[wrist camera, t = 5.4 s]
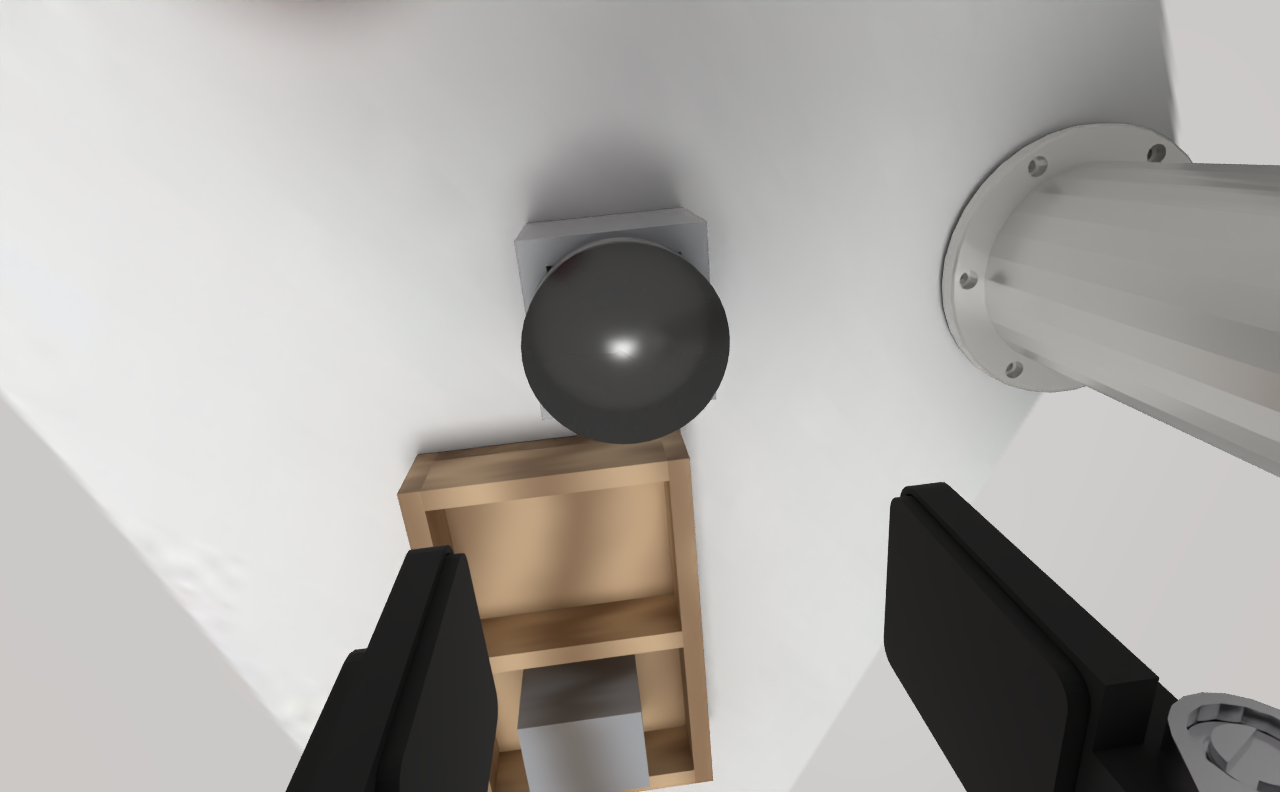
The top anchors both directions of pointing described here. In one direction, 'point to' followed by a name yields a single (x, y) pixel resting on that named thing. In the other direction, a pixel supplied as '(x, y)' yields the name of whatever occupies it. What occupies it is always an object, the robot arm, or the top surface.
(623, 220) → the mount
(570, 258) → the plunger
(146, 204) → the top surface
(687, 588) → the caddy
